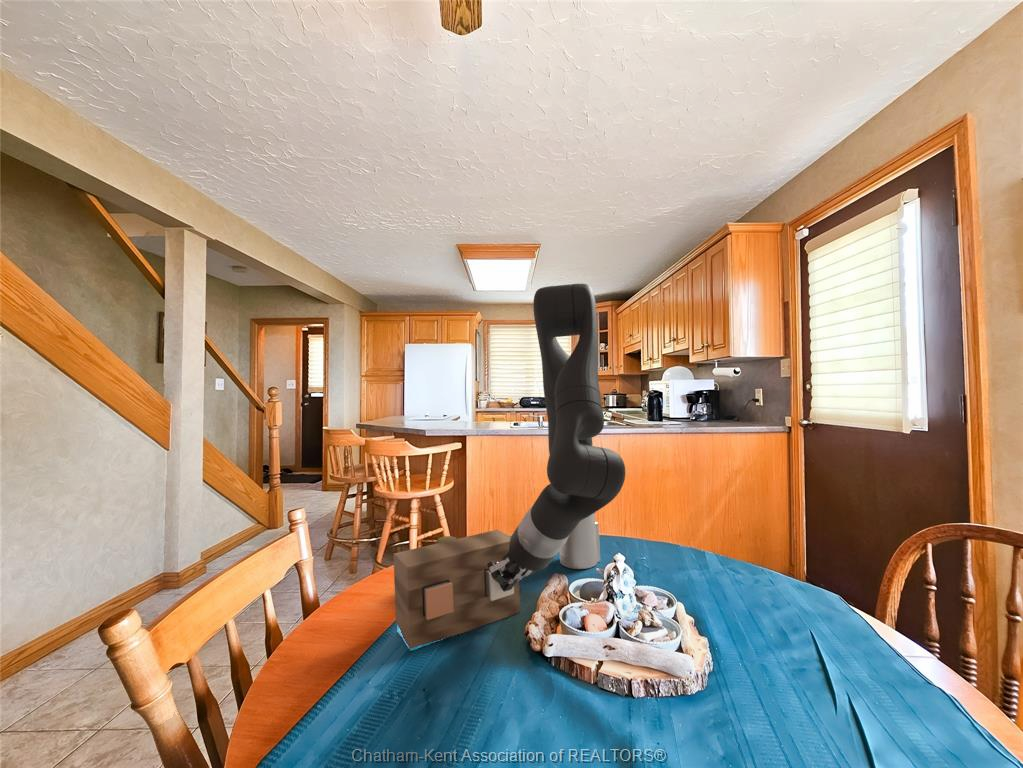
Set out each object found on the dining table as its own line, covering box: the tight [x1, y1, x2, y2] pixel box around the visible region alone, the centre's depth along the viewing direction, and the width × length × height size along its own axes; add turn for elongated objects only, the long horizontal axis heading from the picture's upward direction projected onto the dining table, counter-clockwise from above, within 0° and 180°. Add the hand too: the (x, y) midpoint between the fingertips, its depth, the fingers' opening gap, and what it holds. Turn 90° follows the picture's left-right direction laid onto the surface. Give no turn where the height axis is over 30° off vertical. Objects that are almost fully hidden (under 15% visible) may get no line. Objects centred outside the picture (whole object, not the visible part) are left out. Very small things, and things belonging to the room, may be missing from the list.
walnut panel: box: [393, 529, 521, 649], centre depth 80 cm, size 22×8×14 cm, turn 122°
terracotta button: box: [422, 581, 454, 620], centre depth 76 cm, size 5×9×5 cm, turn 32°
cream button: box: [484, 569, 514, 601], centre depth 82 cm, size 5×9×5 cm, turn 32°
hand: (504, 585), depth 78 cm, fingers closed
